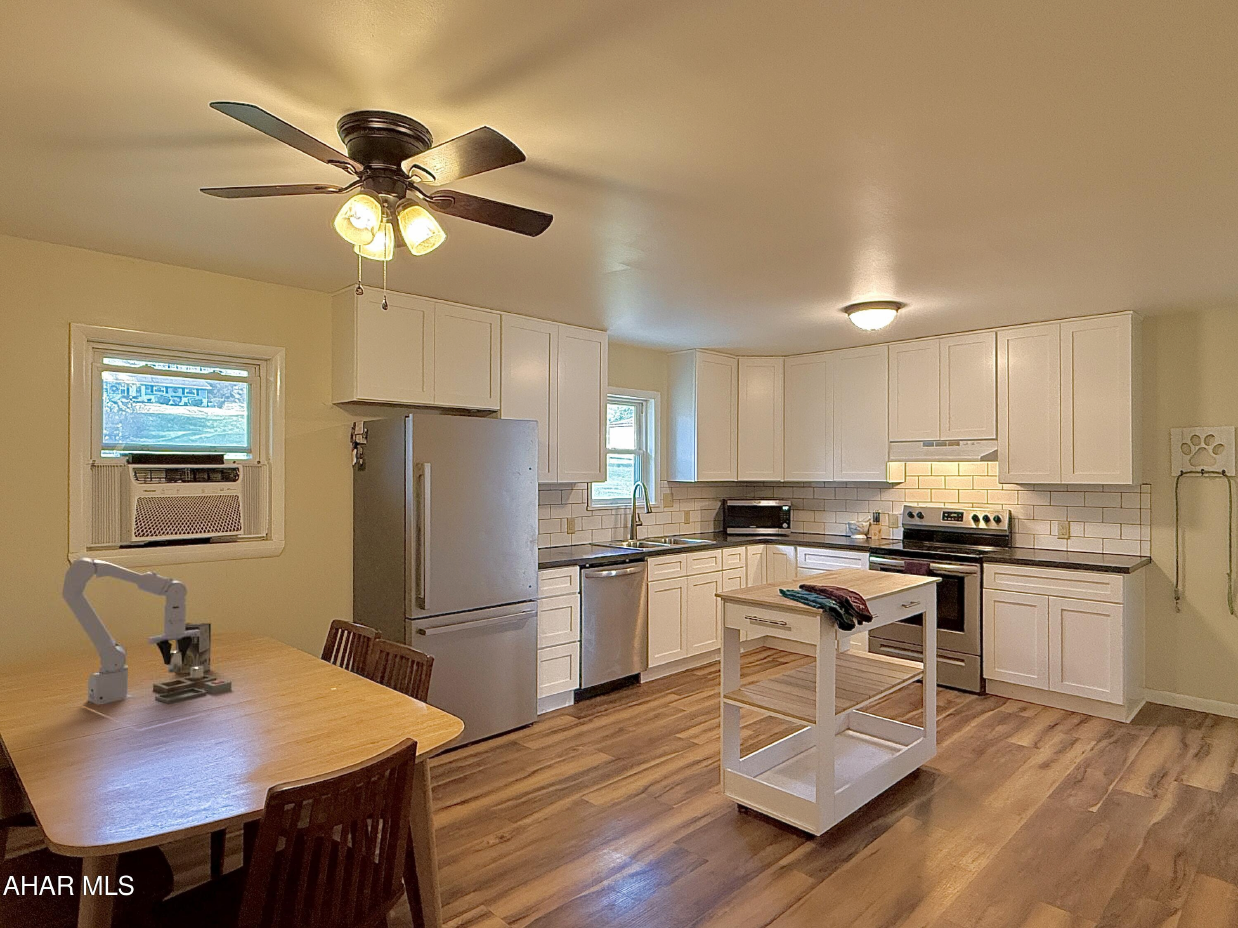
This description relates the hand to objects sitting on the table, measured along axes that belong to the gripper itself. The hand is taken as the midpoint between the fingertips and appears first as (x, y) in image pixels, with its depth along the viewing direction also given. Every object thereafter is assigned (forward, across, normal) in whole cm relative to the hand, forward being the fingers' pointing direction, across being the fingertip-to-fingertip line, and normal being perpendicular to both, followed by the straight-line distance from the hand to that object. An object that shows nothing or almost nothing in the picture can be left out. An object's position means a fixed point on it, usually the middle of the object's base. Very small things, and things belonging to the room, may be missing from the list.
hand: (174, 662), depth 230 cm
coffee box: (+9, +16, +20) cm, 27 cm away
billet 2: (+9, +7, 0) cm, 11 cm away
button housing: (+9, +8, -12) cm, 17 cm away
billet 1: (+2, 0, 0) cm, 3 cm away
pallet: (+9, +4, 0) cm, 10 cm away
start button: (+8, +7, -12) cm, 16 cm away
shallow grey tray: (+9, -2, -10) cm, 14 cm away
